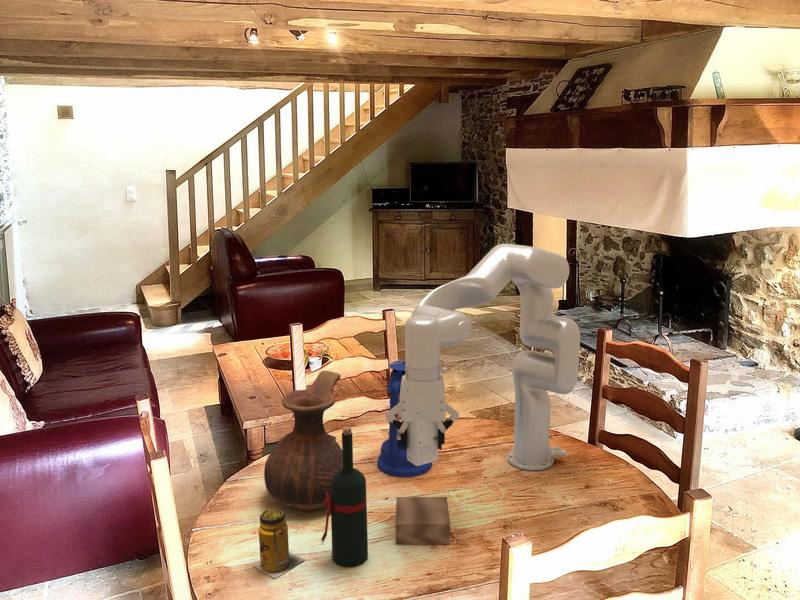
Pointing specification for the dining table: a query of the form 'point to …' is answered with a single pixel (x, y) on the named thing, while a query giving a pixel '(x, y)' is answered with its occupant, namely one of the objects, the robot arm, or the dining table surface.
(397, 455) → the lantern
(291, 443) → the jug
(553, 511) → the dining table surface
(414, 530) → the walnut block
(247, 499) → the dining table surface
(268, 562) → the condiment
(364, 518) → the wine bottle
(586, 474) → the dining table surface
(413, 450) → the skincare box
